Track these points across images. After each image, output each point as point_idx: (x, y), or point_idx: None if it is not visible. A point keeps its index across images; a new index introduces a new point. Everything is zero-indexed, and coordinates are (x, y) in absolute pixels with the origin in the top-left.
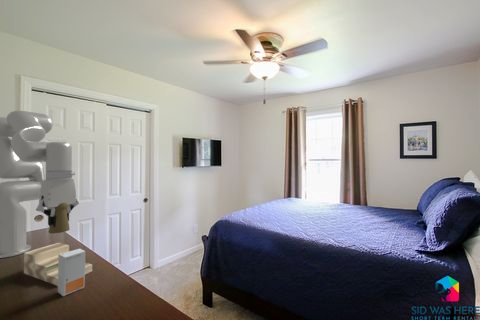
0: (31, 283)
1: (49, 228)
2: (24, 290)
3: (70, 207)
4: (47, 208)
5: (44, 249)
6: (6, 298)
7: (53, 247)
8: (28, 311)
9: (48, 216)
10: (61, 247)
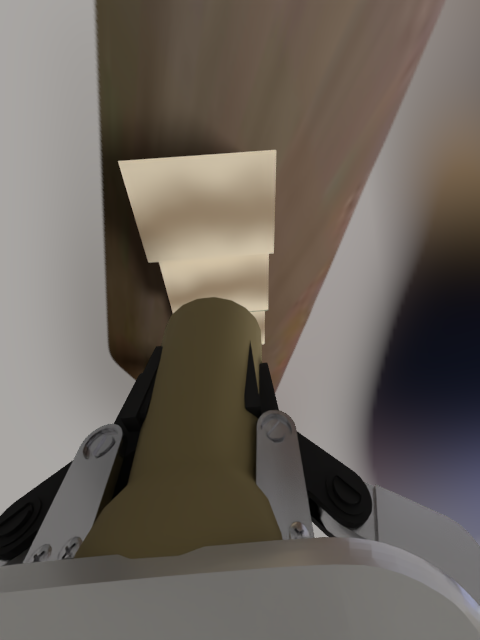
0: (157, 276)
1: (161, 345)
2: (140, 299)
3: (310, 510)
4: (36, 551)
5: (193, 207)
6: (109, 303)
7: (226, 218)
8: (137, 372)
9: (112, 436)
10: (244, 252)
